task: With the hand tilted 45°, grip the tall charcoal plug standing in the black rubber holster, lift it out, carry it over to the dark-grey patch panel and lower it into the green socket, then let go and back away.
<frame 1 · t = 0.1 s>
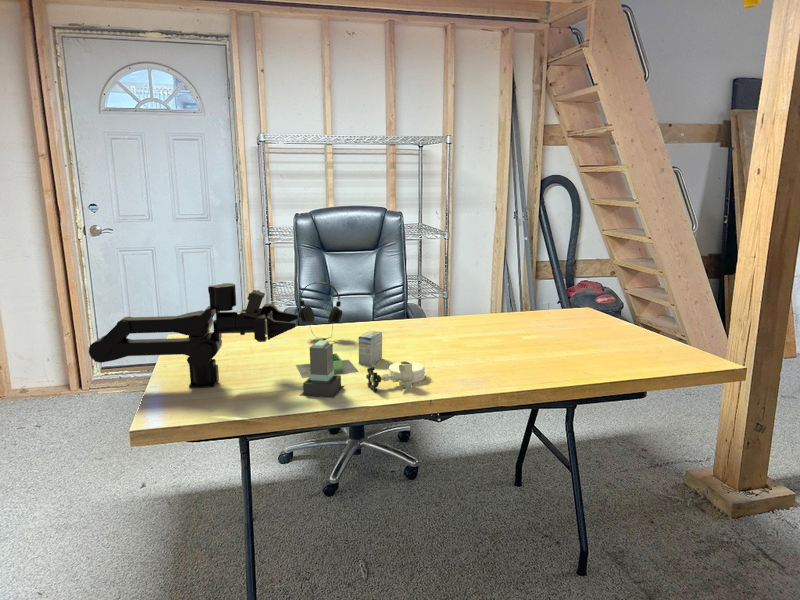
hand: (296, 321, 152), 17 cm above the table, tool horizontal, fingers open, 9 cm apart
valve: (392, 389, 148), on the table
holster: (322, 392, 145), on the table
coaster: (406, 379, 157), on the table
port: (326, 370, 163), on the table
headphones: (319, 340, 195), on the table
plug: (322, 390, 145), point 1 cm above the table, touching holster
medicine box: (370, 362, 171), on the table
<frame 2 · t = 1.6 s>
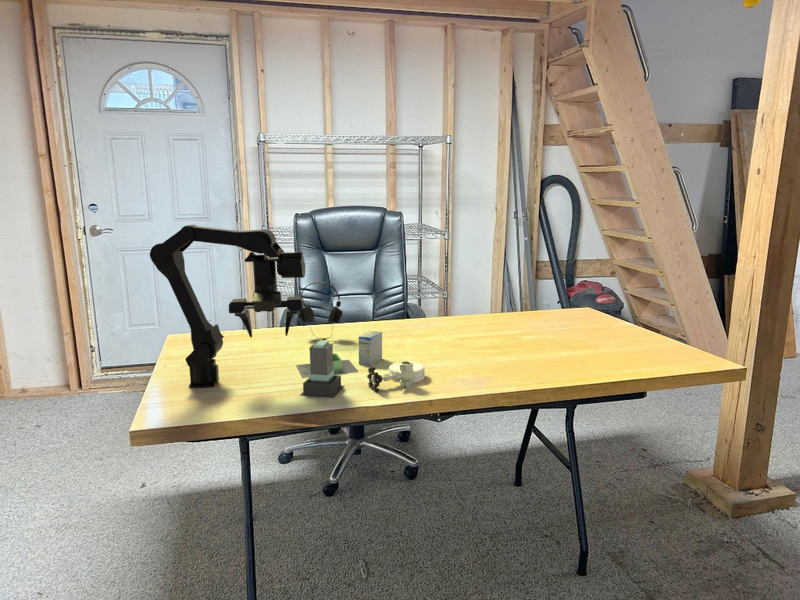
hand: (268, 336, 150), 13 cm above the table, tool pointing down, fingers open, 9 cm apart
nothing on the table moved.
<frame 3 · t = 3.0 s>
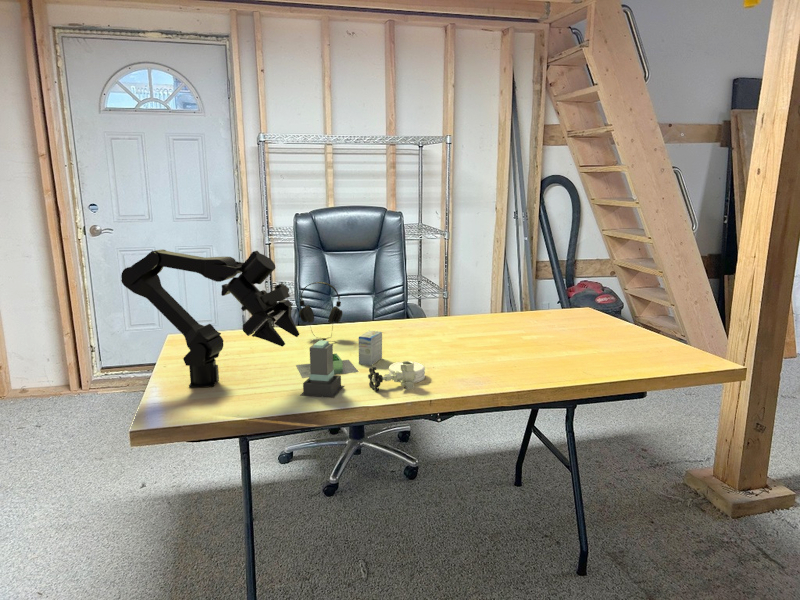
hand: (291, 340, 144), 13 cm above the table, tool tilted 45°, fingers open, 9 cm apart
nothing on the table moved.
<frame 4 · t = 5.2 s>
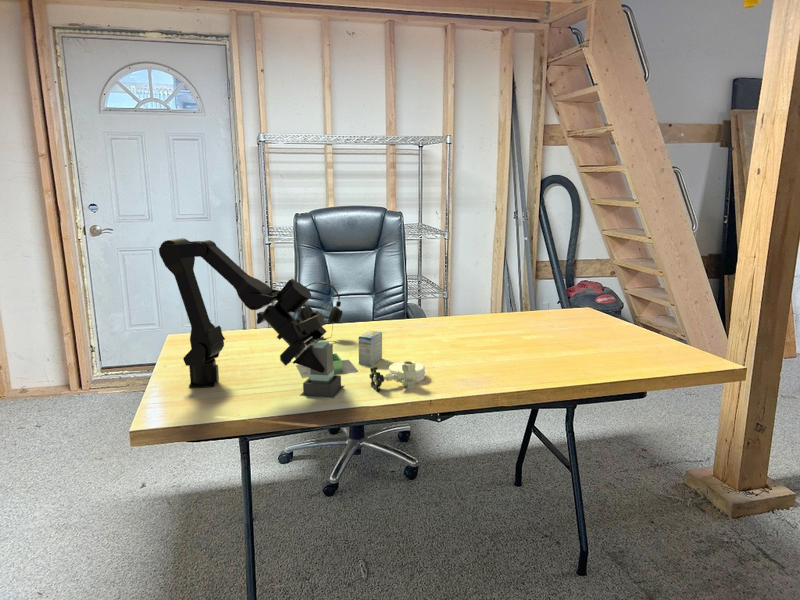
hand: (327, 368, 144), 7 cm above the table, tool tilted 45°, fingers closed on plug, 4 cm apart
plug: (322, 390, 145), point 1 cm above the table, touching gripper, holster
when the fingers open (8 cm above the table, at t = 8.7 s): plug drops 1 cm, resting on port.
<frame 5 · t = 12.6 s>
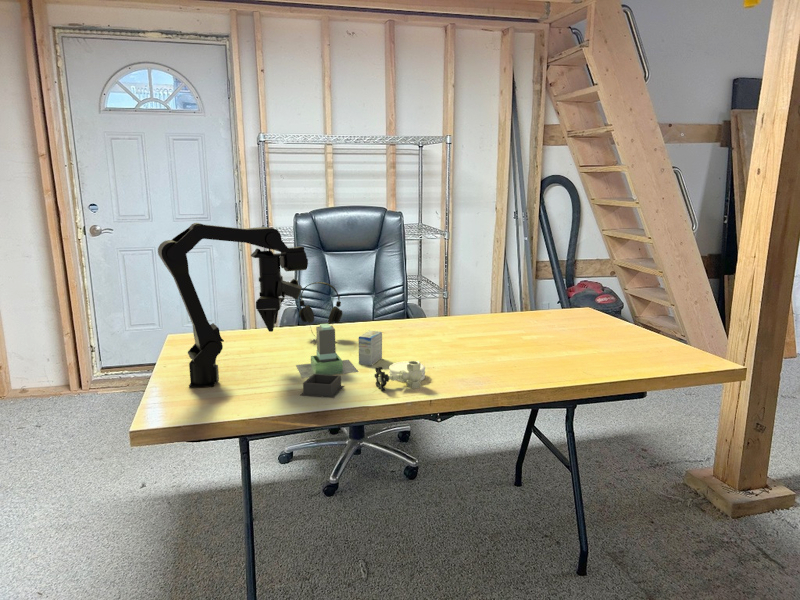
hand: (272, 327, 159), 13 cm above the table, tool pointing down, fingers open, 9 cm apart
valve: (400, 389, 149), on the table
plug: (326, 368, 163), point 1 cm above the table, touching port
everything else where it was.
at the end: plug 0.0 cm off-centre on the port, point 0.6 cm above the port's base; plug tilted 0°; the gripper is holding nothing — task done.
